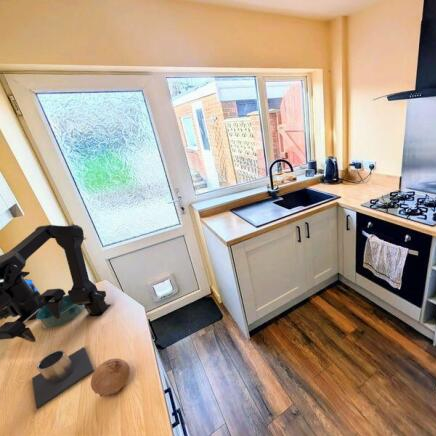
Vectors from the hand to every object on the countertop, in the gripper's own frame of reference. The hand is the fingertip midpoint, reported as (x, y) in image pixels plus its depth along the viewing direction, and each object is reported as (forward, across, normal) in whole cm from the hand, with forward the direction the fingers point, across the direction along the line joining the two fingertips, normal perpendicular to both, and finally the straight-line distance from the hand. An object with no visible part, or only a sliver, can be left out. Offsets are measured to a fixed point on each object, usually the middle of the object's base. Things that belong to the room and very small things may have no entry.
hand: (46, 329), depth 83 cm
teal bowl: (+12, -18, -16) cm, 27 cm away
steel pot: (+11, +9, +8) cm, 16 cm away
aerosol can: (+12, -21, -30) cm, 38 cm away
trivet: (+12, +9, +8) cm, 16 cm away
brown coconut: (+12, +13, +29) cm, 34 cm away
